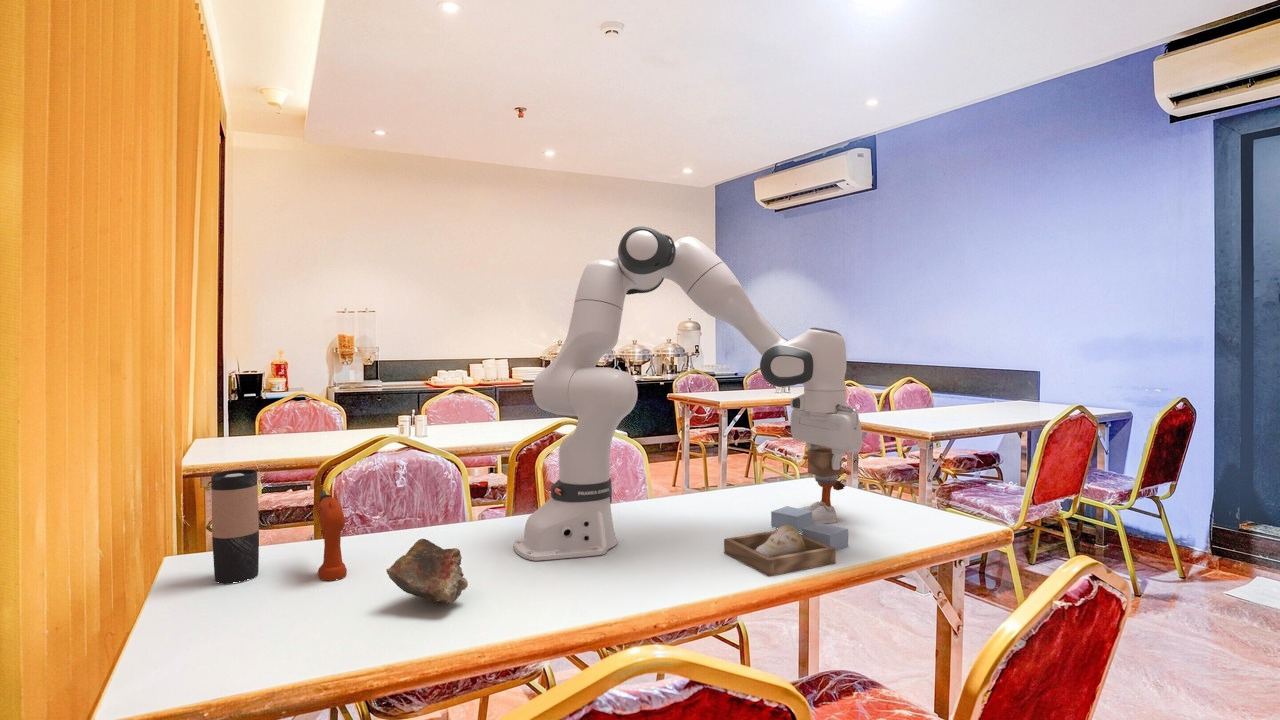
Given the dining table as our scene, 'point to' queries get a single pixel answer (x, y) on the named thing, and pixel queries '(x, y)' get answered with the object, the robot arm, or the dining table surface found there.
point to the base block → (827, 535)
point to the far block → (791, 518)
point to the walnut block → (821, 463)
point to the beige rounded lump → (782, 542)
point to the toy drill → (331, 537)
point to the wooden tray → (746, 553)
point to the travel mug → (235, 525)
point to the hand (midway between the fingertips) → (824, 466)
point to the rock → (429, 572)
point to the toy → (825, 496)
